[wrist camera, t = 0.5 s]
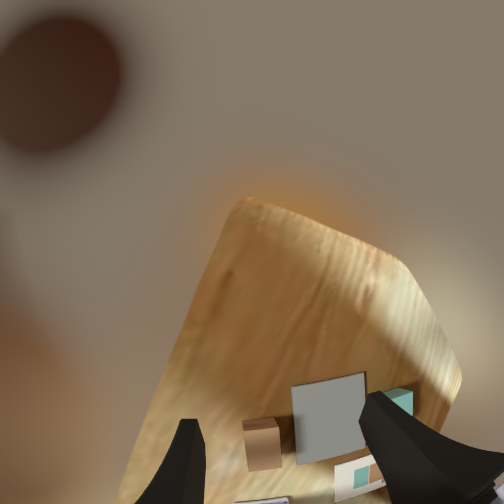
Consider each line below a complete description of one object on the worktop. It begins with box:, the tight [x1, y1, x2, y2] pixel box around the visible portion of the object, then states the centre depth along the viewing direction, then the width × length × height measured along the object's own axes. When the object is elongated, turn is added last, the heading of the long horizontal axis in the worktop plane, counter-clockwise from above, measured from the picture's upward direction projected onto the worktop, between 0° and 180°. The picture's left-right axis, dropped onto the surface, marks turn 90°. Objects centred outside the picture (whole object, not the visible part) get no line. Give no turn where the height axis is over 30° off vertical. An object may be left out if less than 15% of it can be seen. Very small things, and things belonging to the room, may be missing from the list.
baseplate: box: [291, 372, 365, 465], centre depth 30 cm, size 12×10×1 cm
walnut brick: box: [242, 417, 282, 472], centre depth 27 cm, size 6×4×4 cm, turn 5°
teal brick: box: [383, 388, 413, 416], centre depth 29 cm, size 6×4×4 cm, turn 5°
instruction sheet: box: [334, 454, 386, 503], centre depth 28 cm, size 8×10×1 cm
